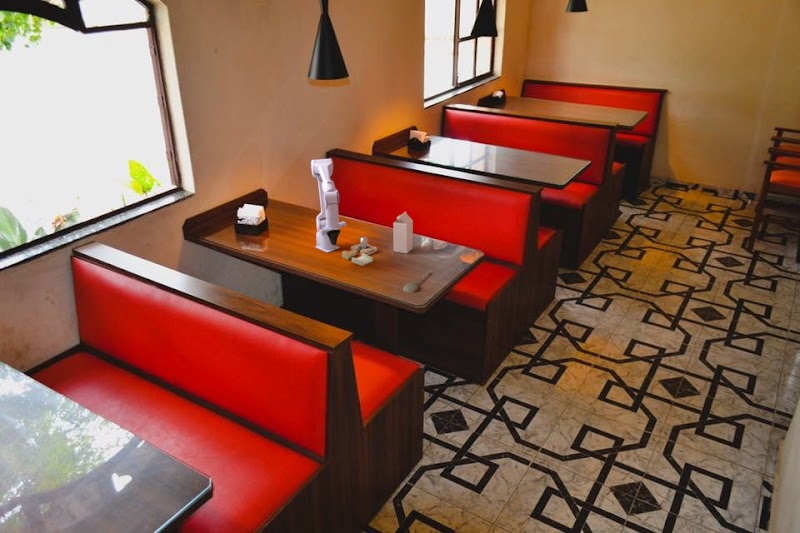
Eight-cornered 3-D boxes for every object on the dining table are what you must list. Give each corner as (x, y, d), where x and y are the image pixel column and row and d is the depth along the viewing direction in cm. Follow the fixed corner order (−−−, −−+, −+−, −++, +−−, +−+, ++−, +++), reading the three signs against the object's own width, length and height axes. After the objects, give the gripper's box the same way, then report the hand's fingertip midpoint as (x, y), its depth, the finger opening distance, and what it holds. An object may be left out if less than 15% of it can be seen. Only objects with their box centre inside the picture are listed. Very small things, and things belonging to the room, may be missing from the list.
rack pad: (351, 261, 296) (351, 257, 295) (362, 257, 301) (362, 253, 300) (362, 266, 292) (362, 262, 291) (372, 261, 296) (372, 257, 296)
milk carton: (412, 248, 310) (412, 212, 302) (406, 254, 304) (406, 217, 296) (399, 246, 313) (399, 210, 305) (393, 251, 307) (393, 215, 299)
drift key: (342, 257, 301) (341, 251, 299) (352, 253, 305) (352, 247, 304) (347, 259, 298) (347, 253, 297) (357, 255, 302) (357, 249, 301)
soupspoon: (399, 293, 270) (413, 297, 267) (400, 286, 268) (413, 290, 266) (424, 272, 287) (437, 276, 284) (425, 265, 285) (437, 269, 282)
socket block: (351, 250, 308) (351, 246, 307) (363, 245, 313) (362, 242, 312) (365, 256, 302) (365, 252, 301) (377, 251, 307) (377, 247, 306)
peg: (359, 251, 308) (359, 237, 305) (364, 249, 310) (363, 236, 307) (363, 252, 306) (363, 239, 303) (368, 251, 308) (368, 237, 305)
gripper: (325, 223, 278) (327, 251, 284) (350, 215, 288) (351, 242, 293) (315, 219, 283) (317, 247, 288) (339, 211, 292) (341, 238, 298)
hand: (333, 244), depth 291 cm, fingers closed
